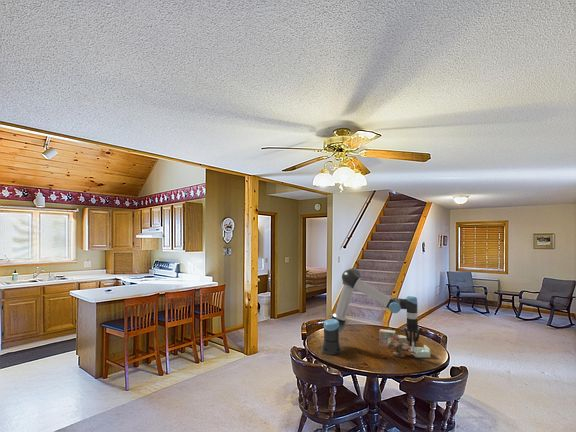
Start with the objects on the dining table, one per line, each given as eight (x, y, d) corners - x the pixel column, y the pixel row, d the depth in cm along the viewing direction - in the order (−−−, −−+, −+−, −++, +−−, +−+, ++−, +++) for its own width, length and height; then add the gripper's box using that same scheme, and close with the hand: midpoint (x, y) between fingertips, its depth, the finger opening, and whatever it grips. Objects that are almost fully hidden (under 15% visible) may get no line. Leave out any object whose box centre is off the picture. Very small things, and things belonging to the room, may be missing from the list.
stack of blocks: (407, 348, 266) (407, 332, 267) (406, 350, 261) (406, 334, 261) (380, 343, 276) (380, 328, 276) (379, 346, 270) (378, 330, 271)
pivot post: (396, 356, 247) (396, 345, 247) (393, 352, 255) (393, 341, 255) (404, 356, 246) (404, 345, 247) (401, 352, 255) (401, 341, 255)
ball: (423, 349, 249) (427, 351, 249) (421, 348, 252) (426, 350, 252) (421, 353, 249) (425, 356, 248) (419, 352, 252) (424, 354, 252)
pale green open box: (415, 357, 245) (415, 349, 246) (410, 352, 255) (410, 344, 256) (430, 357, 245) (430, 349, 245) (425, 352, 255) (425, 344, 255)
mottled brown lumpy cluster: (390, 351, 243) (393, 341, 243) (385, 345, 254) (388, 337, 254) (414, 359, 242) (416, 349, 242) (408, 353, 253) (411, 344, 254)
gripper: (404, 319, 242) (405, 352, 241) (423, 319, 242) (423, 352, 240) (401, 316, 249) (401, 348, 248) (419, 316, 249) (419, 349, 248)
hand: (412, 350), depth 244 cm, fingers closed
